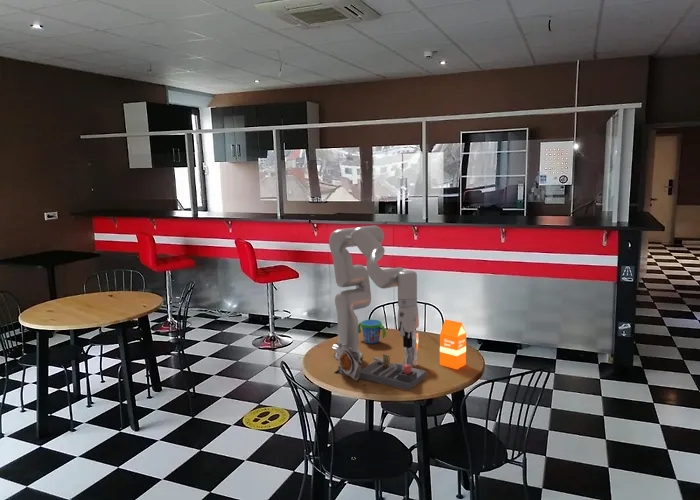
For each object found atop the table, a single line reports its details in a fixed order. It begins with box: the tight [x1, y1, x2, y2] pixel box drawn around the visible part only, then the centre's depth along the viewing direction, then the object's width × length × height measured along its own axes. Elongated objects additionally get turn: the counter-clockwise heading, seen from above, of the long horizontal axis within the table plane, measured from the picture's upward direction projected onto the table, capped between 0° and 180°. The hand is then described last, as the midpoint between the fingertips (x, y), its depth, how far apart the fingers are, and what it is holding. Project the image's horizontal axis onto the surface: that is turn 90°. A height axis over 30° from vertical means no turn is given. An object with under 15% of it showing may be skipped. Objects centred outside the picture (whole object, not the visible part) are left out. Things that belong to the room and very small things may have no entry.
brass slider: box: [382, 352, 391, 368], centre depth 222 cm, size 3×2×6 cm, turn 56°
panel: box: [359, 360, 427, 391], centre depth 218 cm, size 24×16×5 cm, turn 56°
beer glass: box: [403, 329, 420, 367], centre depth 232 cm, size 7×7×15 cm
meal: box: [334, 342, 363, 383], centre depth 219 cm, size 15×4×13 cm, turn 38°
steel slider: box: [395, 361, 405, 372], centre depth 218 cm, size 3×2×3 cm, turn 56°
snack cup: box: [358, 319, 387, 345], centre depth 263 cm, size 16×10×10 cm
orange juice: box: [439, 318, 467, 370], centre depth 230 cm, size 8×9×20 cm
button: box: [403, 364, 412, 375], centre depth 210 cm, size 3×3×4 cm
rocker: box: [373, 355, 383, 363], centre depth 227 cm, size 6×2×1 cm, turn 56°
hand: (407, 346), depth 208 cm, fingers closed
